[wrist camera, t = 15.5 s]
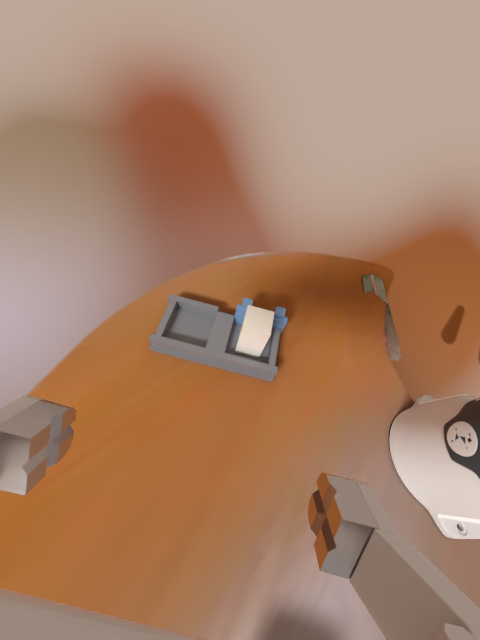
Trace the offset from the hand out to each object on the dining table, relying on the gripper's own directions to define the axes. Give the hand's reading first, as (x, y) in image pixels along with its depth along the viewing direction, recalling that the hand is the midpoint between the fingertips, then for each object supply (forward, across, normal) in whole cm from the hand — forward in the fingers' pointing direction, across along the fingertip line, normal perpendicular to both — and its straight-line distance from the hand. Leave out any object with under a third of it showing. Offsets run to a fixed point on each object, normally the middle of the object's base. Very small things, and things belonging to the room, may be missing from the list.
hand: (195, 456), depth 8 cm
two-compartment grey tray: (+34, +2, +7) cm, 35 cm away
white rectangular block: (+34, -3, +6) cm, 35 cm away
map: (+45, -28, -3) cm, 53 cm away
